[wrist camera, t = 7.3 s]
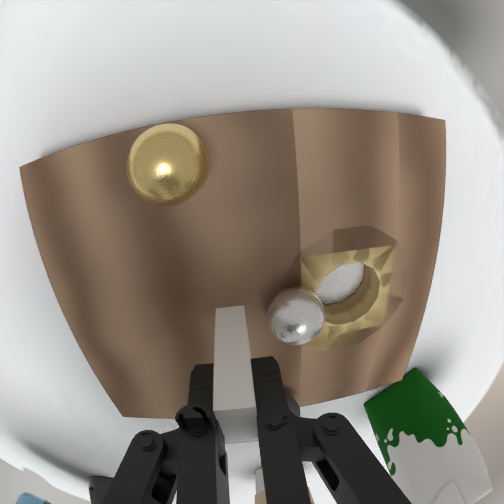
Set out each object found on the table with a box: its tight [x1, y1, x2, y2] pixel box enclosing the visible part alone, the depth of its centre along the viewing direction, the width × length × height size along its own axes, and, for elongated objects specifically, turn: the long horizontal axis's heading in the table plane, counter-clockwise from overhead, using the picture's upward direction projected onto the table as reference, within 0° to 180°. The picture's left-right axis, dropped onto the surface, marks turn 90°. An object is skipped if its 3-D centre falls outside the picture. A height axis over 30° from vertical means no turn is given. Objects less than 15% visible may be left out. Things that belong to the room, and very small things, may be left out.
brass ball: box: [126, 124, 209, 206], centre depth 11 cm, size 4×4×4 cm
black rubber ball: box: [285, 394, 300, 417], centre depth 19 cm, size 3×3×3 cm
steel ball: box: [267, 287, 325, 345], centre depth 15 cm, size 3×3×3 cm
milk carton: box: [364, 368, 493, 504], centre depth 18 cm, size 9×9×20 cm
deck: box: [19, 108, 446, 418], centre depth 18 cm, size 26×22×2 cm
